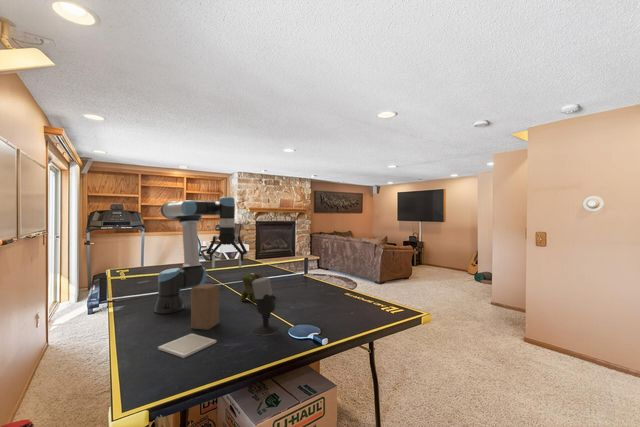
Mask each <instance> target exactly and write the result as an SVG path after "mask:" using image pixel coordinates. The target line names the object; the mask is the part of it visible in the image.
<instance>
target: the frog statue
mask: <svg viewBox="0 0 640 427" xmlns="http://www.w3.org/2000/svg"><path fill="white" fill-rule="evenodd" d="M263 277H264V276H263V275H262V274H259V273H257V272H252V273H246V274H244V276H242V277H241V280H242V284H243V289H242V292H241V296H240V301H241V302H242V303H243V302H244V301H245V300H246V299H247V298H248V296H249V297H251V299H252V300H251V301H252V302H253V303H256V300H255V295H254V290H253V285H252V282H253V281H254V280H256V279H259V278H263Z"/></svg>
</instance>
